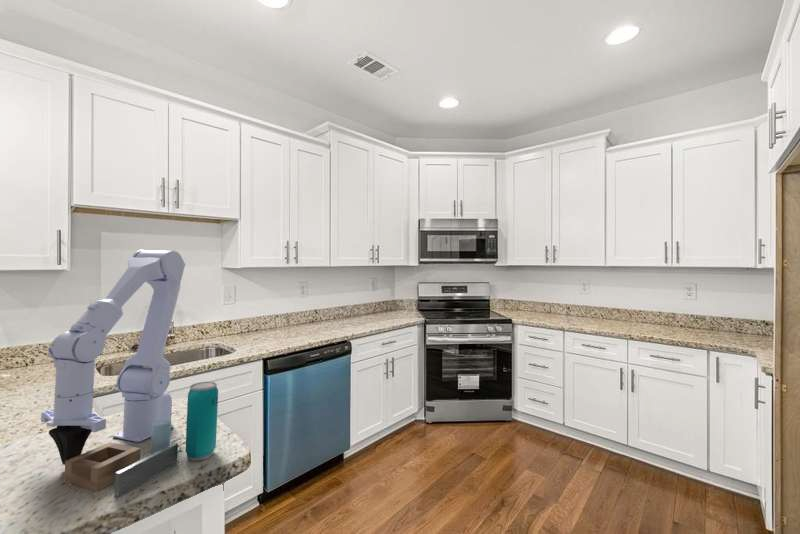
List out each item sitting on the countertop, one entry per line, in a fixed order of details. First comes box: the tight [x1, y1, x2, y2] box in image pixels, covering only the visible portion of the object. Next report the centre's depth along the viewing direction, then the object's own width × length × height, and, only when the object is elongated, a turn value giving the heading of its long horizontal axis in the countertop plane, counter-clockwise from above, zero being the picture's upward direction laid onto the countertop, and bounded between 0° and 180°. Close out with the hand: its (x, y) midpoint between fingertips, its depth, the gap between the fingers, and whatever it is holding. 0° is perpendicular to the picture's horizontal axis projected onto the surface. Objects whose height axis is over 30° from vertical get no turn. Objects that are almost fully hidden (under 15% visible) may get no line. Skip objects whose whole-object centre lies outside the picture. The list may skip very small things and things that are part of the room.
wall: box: [113, 442, 179, 498], centre depth 70 cm, size 12×1×4 cm, turn 165°
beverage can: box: [185, 381, 219, 462], centre depth 79 cm, size 6×6×15 cm
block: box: [63, 441, 141, 492], centre depth 70 cm, size 8×8×4 cm
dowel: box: [150, 420, 172, 455], centre depth 78 cm, size 3×3×7 cm
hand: (70, 462), depth 72 cm, fingers closed
